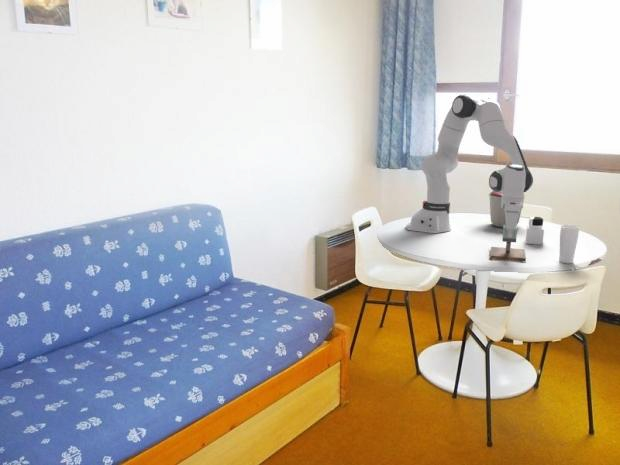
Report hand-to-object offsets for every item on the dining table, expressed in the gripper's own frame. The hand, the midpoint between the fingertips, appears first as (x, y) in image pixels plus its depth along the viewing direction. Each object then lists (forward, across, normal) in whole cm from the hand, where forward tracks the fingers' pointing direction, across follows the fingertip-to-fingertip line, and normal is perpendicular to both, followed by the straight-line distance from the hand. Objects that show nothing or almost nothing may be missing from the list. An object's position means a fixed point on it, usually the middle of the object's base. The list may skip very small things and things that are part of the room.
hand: (509, 235), depth 239 cm
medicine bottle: (+9, -26, +12) cm, 30 cm away
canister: (+10, -56, -1) cm, 57 cm away
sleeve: (+2, 0, 0) cm, 2 cm away
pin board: (+9, 0, 0) cm, 9 cm away
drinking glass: (+9, +2, +23) cm, 25 cm away
